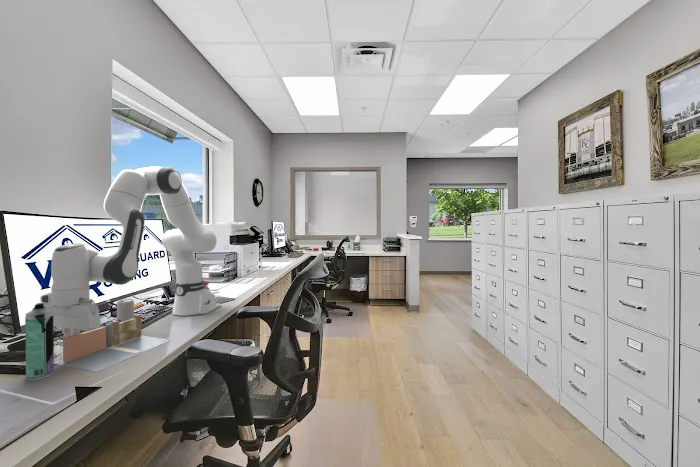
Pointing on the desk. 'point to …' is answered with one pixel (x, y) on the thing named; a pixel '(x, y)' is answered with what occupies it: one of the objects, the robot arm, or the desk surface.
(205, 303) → the robot arm
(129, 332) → the fixed fence section
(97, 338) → the hinged fence panel
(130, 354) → the card
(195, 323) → the desk surface
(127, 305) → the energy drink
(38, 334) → the spray can
